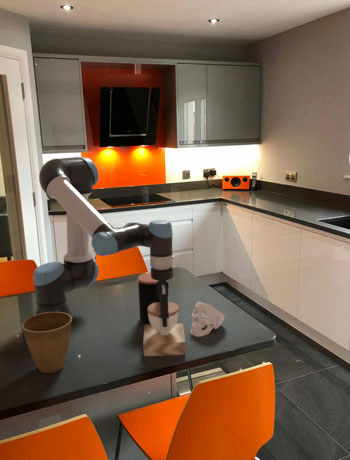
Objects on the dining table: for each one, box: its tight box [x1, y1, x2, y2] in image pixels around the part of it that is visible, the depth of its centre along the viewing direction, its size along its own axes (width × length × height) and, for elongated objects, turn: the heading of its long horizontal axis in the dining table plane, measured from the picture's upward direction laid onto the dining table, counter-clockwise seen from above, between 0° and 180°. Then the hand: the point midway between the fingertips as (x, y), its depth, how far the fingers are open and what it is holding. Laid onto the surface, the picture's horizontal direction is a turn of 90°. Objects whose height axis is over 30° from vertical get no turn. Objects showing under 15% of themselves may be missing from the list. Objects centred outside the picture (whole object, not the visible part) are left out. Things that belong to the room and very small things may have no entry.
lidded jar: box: [148, 301, 180, 332], centre depth 139 cm, size 11×11×9 cm
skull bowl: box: [190, 301, 226, 338], centre depth 152 cm, size 10×14×12 cm
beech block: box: [142, 322, 186, 357], centre depth 141 cm, size 14×14×5 cm
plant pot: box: [21, 312, 73, 374], centre depth 128 cm, size 15×15×16 cm
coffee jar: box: [137, 272, 159, 325], centre depth 160 cm, size 11×11×18 cm
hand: (163, 326), depth 140 cm, fingers closed on lidded jar, 11 cm apart
